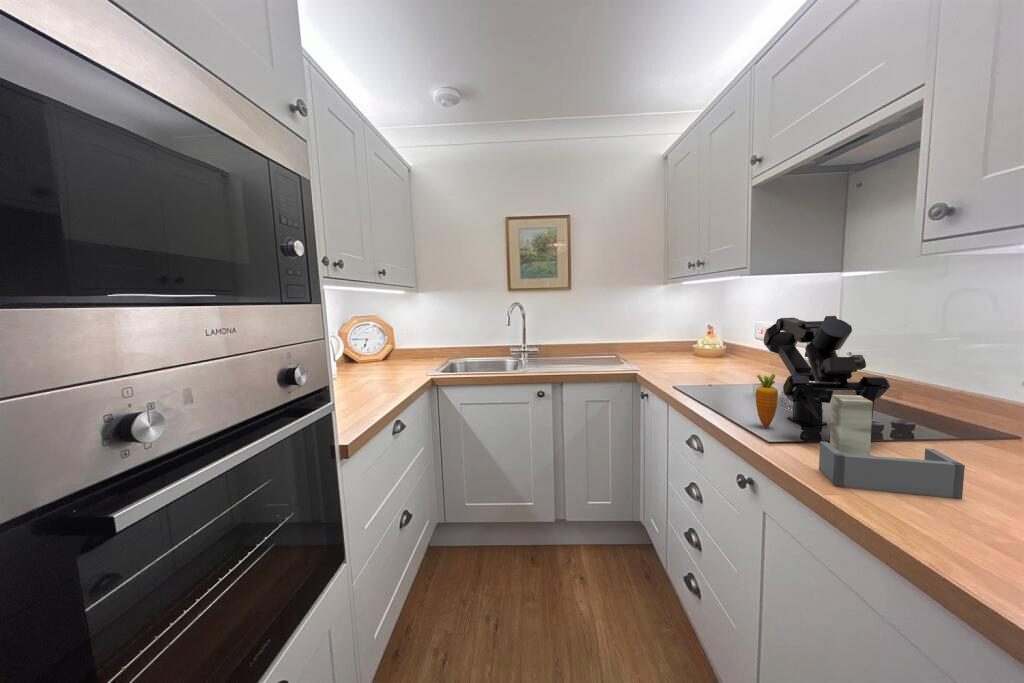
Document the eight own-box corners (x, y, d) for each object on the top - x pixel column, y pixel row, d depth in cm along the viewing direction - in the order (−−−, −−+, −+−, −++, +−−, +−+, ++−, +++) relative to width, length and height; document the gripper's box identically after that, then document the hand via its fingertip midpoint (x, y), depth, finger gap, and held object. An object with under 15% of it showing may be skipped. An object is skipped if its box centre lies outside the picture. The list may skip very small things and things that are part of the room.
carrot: (750, 426, 101) (751, 373, 99) (762, 423, 103) (763, 371, 101) (769, 432, 96) (770, 376, 95) (781, 428, 98) (783, 373, 96)
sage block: (829, 449, 84) (831, 394, 83) (857, 451, 82) (860, 395, 81) (840, 458, 79) (842, 400, 78) (869, 461, 78) (872, 401, 76)
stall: (818, 469, 75) (820, 441, 75) (931, 479, 69) (933, 448, 69) (835, 486, 69) (837, 455, 68) (962, 498, 63) (964, 465, 62)
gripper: (788, 343, 89) (805, 400, 80) (888, 342, 82) (918, 403, 73) (776, 368, 97) (790, 422, 88) (866, 369, 91) (891, 427, 82)
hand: (844, 419), depth 83 cm, fingers open, 9 cm apart
